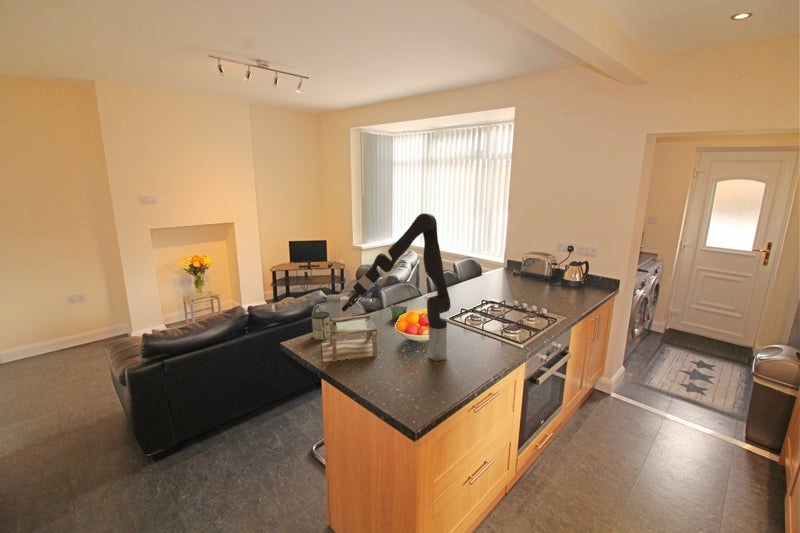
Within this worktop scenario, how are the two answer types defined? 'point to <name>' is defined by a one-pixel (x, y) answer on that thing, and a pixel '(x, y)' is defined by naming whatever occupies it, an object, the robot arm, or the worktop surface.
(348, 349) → the trapdoor frame
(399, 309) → the food container
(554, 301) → the worktop surface
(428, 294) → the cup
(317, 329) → the coffee can
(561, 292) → the worktop surface
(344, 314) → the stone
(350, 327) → the trapdoor
